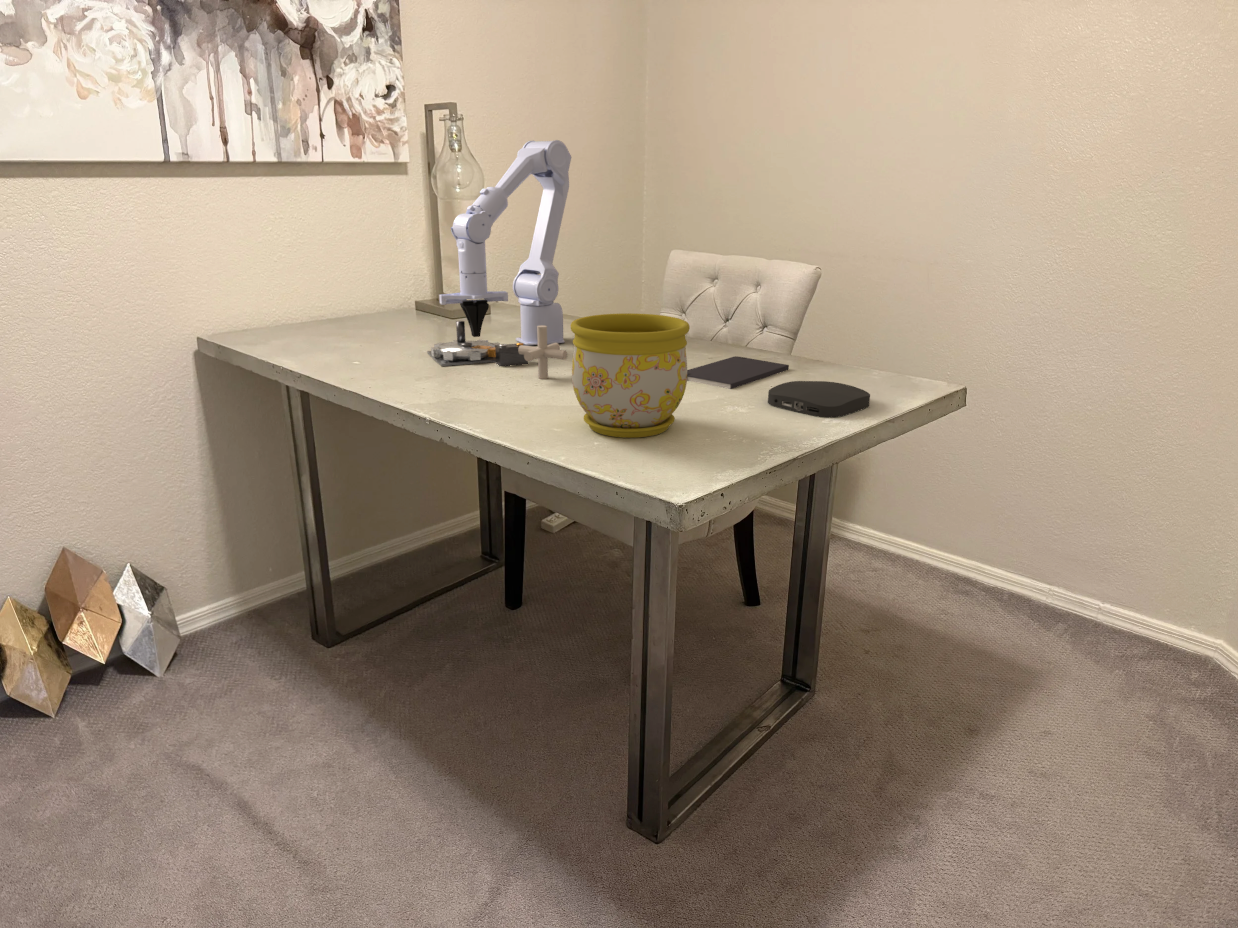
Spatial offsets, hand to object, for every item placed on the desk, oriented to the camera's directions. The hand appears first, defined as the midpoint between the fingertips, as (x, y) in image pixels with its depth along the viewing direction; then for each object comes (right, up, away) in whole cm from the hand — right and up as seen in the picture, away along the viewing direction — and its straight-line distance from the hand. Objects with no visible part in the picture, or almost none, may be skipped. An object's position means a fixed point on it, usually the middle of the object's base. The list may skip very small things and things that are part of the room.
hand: (475, 336), depth 185 cm
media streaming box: (+66, -18, -37) cm, 78 cm away
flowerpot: (+33, -22, -51) cm, 64 cm away
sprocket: (-1, -5, -3) cm, 6 cm away
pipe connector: (+17, -11, -21) cm, 29 cm away
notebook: (+54, -11, -16) cm, 57 cm away
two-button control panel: (+9, -7, -9) cm, 15 cm away
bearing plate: (-1, -5, -3) cm, 6 cm away
